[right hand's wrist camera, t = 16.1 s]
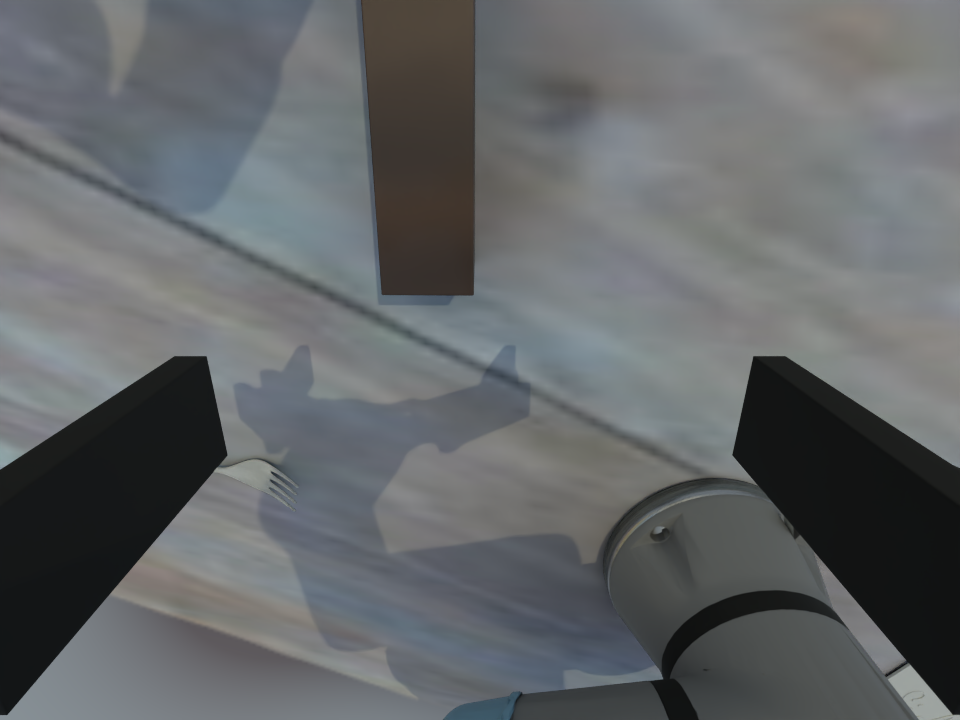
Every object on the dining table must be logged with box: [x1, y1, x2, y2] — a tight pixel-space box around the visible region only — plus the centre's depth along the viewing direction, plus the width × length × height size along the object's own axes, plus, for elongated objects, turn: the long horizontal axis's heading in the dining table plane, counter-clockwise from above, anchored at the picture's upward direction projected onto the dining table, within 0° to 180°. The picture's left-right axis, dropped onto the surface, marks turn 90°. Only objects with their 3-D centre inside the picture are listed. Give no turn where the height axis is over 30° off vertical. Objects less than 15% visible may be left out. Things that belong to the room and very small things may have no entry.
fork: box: [214, 459, 299, 512], centre depth 36 cm, size 3×16×2 cm, turn 76°
